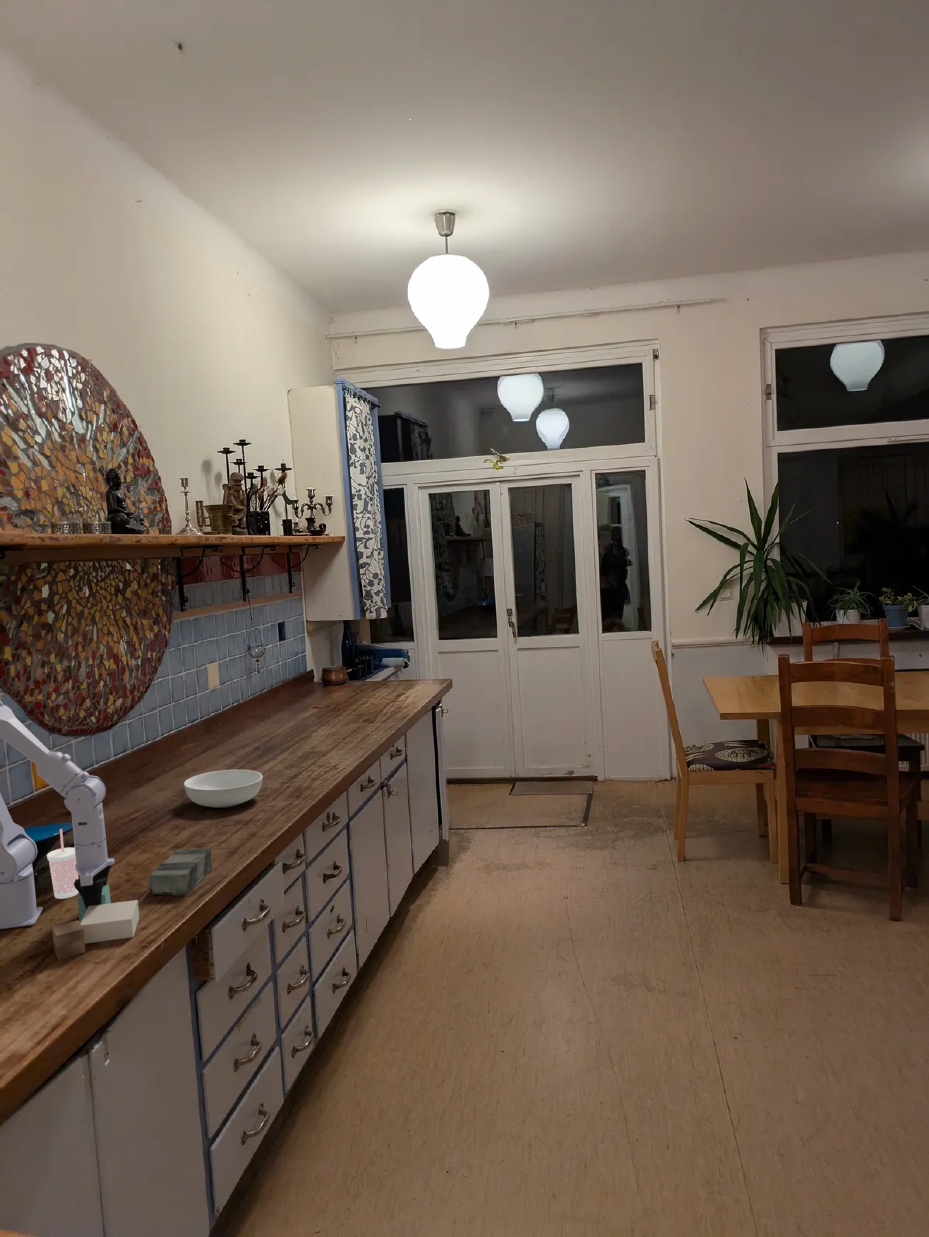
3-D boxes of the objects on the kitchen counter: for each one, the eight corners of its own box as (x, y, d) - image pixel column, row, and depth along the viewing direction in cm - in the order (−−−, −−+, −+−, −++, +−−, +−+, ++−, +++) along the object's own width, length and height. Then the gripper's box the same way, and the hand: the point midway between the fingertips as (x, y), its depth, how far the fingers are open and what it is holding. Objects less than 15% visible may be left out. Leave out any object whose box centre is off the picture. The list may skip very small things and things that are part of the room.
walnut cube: (58, 960, 160) (56, 935, 160) (54, 950, 164) (52, 926, 163) (85, 952, 162) (83, 928, 162) (80, 943, 166) (78, 920, 166)
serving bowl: (244, 815, 238) (242, 790, 238) (171, 814, 243) (169, 789, 242) (276, 792, 259) (274, 769, 258) (208, 791, 263) (206, 768, 262)
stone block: (145, 897, 187) (143, 873, 187) (174, 871, 201) (172, 848, 201) (187, 897, 186) (185, 872, 186) (213, 870, 201) (211, 847, 200)
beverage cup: (46, 894, 190) (40, 829, 189) (75, 886, 194) (69, 822, 193) (57, 902, 186) (51, 836, 184) (87, 893, 190) (81, 828, 189)
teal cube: (79, 922, 175) (77, 897, 175) (84, 912, 180) (82, 888, 180) (107, 919, 176) (105, 894, 176) (111, 909, 181) (109, 884, 181)
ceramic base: (81, 943, 166) (79, 925, 166) (90, 923, 175) (88, 906, 174) (133, 937, 168) (131, 918, 168) (139, 917, 177) (137, 899, 176)
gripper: (105, 850, 171) (112, 919, 172) (117, 826, 185) (123, 890, 186) (65, 855, 169) (72, 925, 170) (80, 830, 183) (86, 895, 184)
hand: (96, 907), depth 178 cm, fingers closed on teal cube, 5 cm apart
